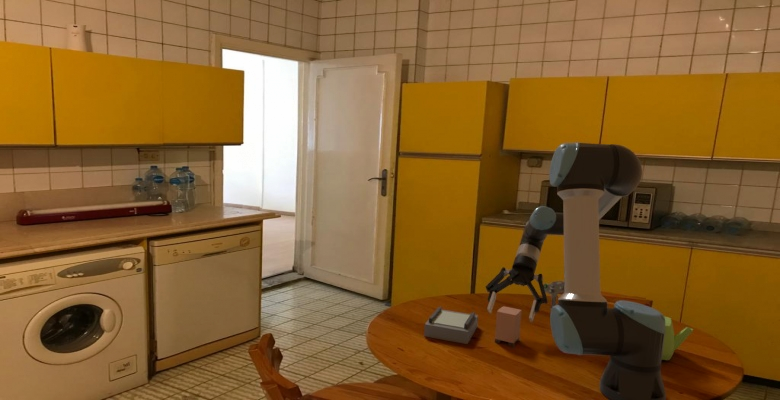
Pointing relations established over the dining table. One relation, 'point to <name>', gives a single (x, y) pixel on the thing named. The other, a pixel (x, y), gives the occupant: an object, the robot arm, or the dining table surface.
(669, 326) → the teapot
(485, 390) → the dining table surface
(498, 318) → the block
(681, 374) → the dining table surface
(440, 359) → the dining table surface
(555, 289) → the mechanical component
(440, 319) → the step
